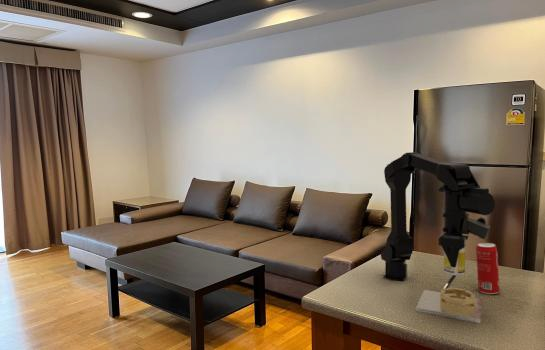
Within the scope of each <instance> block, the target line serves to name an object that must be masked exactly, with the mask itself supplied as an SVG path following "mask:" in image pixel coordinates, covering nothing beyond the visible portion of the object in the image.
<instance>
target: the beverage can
mask: <svg viewBox="0 0 545 350" xmlns="http://www.w3.org/2000/svg"><path fill="white" fill-rule="evenodd" d="M475 253H476V269H477V283H478V285H477V287H478V290H479V292H480V293H482V294H484V295H485V294H486V295H496V294H499V292H500V277H499V276H500V275H499V255H498V247H497V244H496V243H492V242H478V243H477V244H476V248H475Z"/></svg>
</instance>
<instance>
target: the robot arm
mask: <svg viewBox="0 0 545 350" xmlns="http://www.w3.org/2000/svg"><path fill="white" fill-rule="evenodd" d="M383 170H384V171H383V174H384V181H385V184H386V185H387V186H388V188H389V190H390V228H391V230H390V233H389V235H388V236H387V238H386V243H385V244H386V246H385V248H384V249H382V251H381V252H380V258H381V259H380V260H382V261H384V262H385V264H384V265H385V269H384V270H385V274H384V276H383V278H384V279H389V280H394V281H400V282H404V281H405V279H406V278H407V276H408V264H407V261H410V260H411V256H412V255H413V252H414V250H415V247H414V238H413V237H412V236H411V237H410V234H409V233H408V230H407V228H408V227H407V188H408V186H409V184H410V183H411V179H412V175H413V173H415V172H416V171H417V170H421V171H423V172H425V173H428V174H430V175H433V176H434V177H436V180H437V181H438V182H440V183H442V184H443V185H442V186H441V187H439V188H438V192H440V193H441V192H442V193H443V197H444V198H443V213H442V217H443V228H442V233H441V234H440V236H439V237H438V245H439V246H441V249H442V250H443V253H444V252H445V254H446V256H447V258H448V260H449V263H450V265H451V267H456V264H457V259H458V255H459V250H461V249H462V248H465V247H466V242H467V240H468V239H469V235H470V234H472V235H474V236H476V237H478V238H479V239H482V240H486V239H487V237H488V234H489V232H490V231H491V230H490V229H491V226H490V225H489V224H487V220H486V218H485V217H482V216H489V215H491V214H492V212H494V209H495V206H496V200H495V198H494V197H493V195H492V194H491V193H490V189H489V187H488V188H487V187H483V188H481V186H480V184H479V183H478V181H477V179H476V177H475V176H474V174H473V172H472V171H471V167H470V166H469V165H468V164H466V163H462V162H461V163H459V162H445V161H442V160H439V159H436V158H433V157H430V156H427V155H424V154H421V153H420V152H417V151H416V152H415V151H412V152H405V153H403V154H402V155H401V156H400V157H398V158H396V159H394V160H393V161H391V162H390V163H388V164H386V166H385V168H384V169H383ZM469 213H471V214H477V215H481V216H479V217H478V218H477V219H475V218H474V219H473V218H470V217H469Z"/></svg>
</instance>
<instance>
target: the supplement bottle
mask: <svg viewBox="0 0 545 350" xmlns="http://www.w3.org/2000/svg"><path fill="white" fill-rule="evenodd" d="M443 271H444V273H445V274H448V275H451V276H453V275H456V276H464V275H465V273H466V248H465V247H464V248H462V249H461V250H459V255H458V259H457V264H456V267H451V265H450V263H449V260H448V258H447V256H446V254H445V252H444V251H443Z"/></svg>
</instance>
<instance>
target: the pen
mask: <svg viewBox="0 0 545 350" xmlns="http://www.w3.org/2000/svg"><path fill="white" fill-rule="evenodd" d="M456 276H457V275H451V277H450V279H449V280H448V281H447V283H446V284H445V285H444V287H443V288H442V289H446V288H449V286H450V285H451V283H452V282H453V280H455V278H456Z"/></svg>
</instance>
